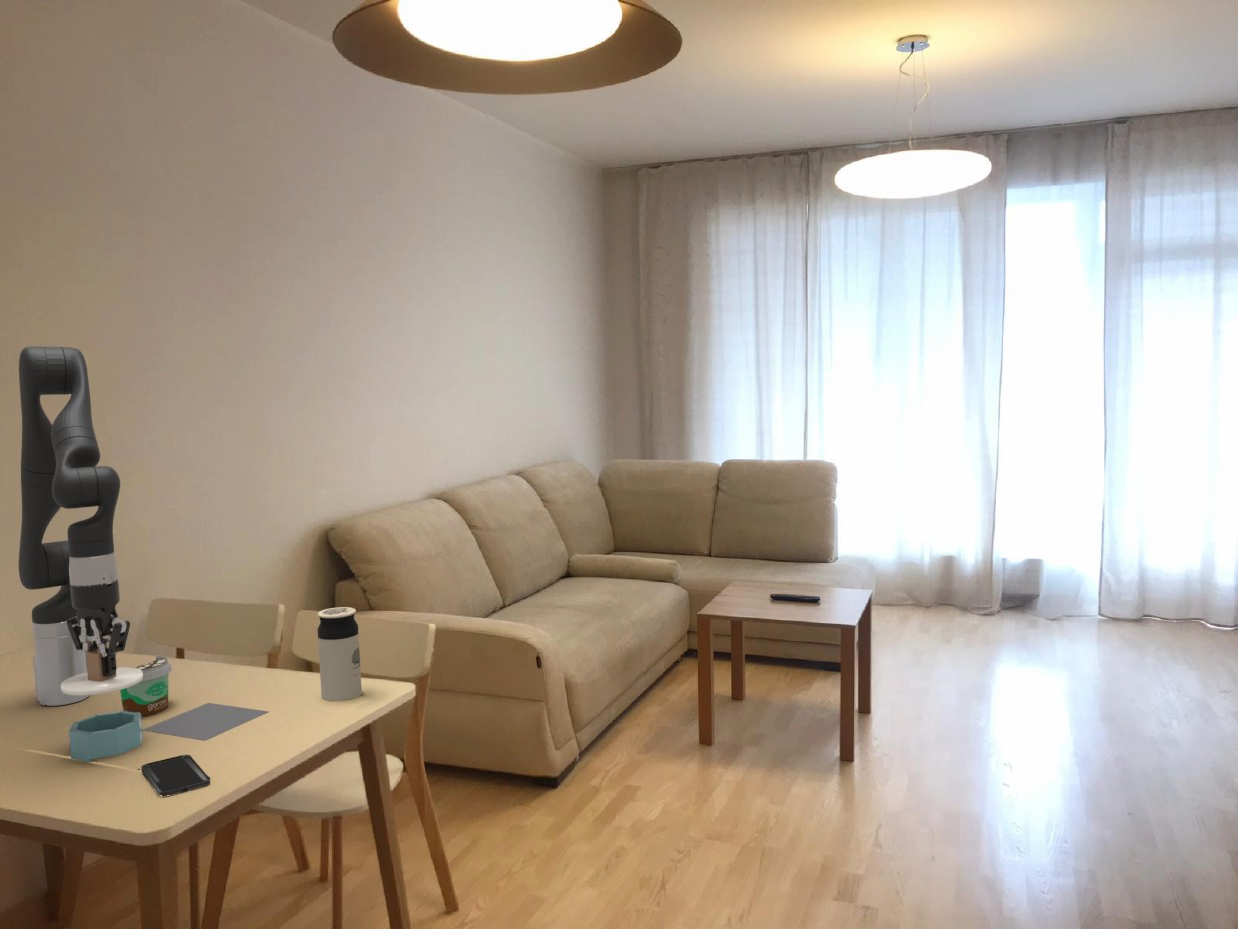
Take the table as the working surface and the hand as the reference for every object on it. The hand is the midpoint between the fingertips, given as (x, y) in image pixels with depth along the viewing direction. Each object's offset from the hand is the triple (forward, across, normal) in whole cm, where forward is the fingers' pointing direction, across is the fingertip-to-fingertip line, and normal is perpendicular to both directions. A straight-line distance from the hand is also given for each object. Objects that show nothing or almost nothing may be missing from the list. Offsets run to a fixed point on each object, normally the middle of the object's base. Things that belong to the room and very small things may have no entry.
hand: (102, 674), depth 174 cm
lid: (+2, 0, 0) cm, 2 cm away
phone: (+15, +22, -5) cm, 27 cm away
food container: (+14, -8, +17) cm, 23 cm away
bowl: (+14, 0, 0) cm, 14 cm away
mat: (+14, +7, +16) cm, 22 cm away
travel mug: (+14, +22, +37) cm, 45 cm away
